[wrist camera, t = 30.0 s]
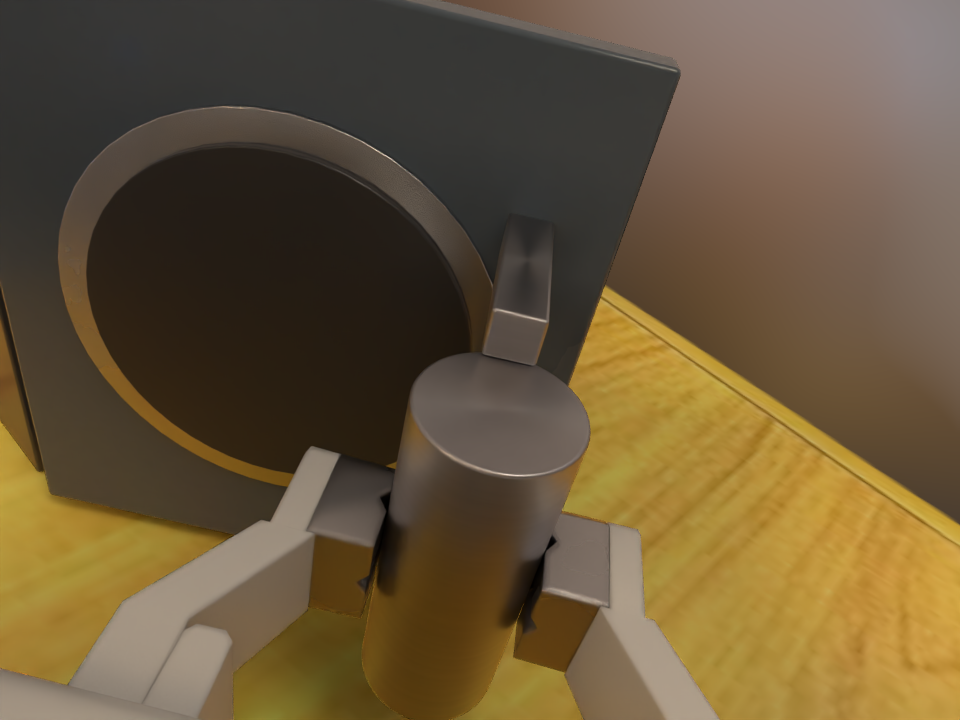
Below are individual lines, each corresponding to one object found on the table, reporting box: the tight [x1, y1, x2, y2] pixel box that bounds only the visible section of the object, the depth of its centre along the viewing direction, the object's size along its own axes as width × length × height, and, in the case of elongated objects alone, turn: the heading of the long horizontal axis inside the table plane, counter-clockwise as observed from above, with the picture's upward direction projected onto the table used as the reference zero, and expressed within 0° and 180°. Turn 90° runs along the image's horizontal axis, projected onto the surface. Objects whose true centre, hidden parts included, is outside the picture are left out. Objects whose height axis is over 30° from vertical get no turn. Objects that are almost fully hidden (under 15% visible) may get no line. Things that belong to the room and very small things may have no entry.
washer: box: [0, 286, 44, 472], centre depth 21 cm, size 12×9×14 cm
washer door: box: [0, 0, 681, 720], centre depth 12 cm, size 12×6×13 cm, turn 84°
